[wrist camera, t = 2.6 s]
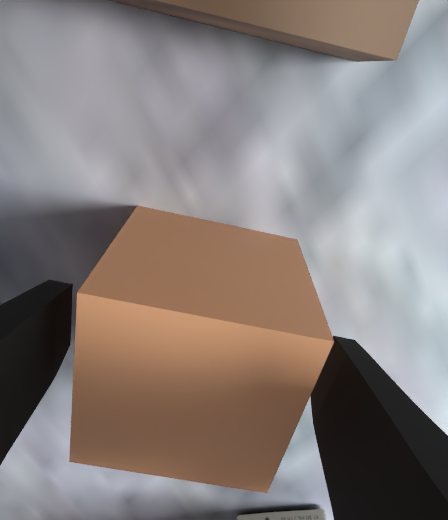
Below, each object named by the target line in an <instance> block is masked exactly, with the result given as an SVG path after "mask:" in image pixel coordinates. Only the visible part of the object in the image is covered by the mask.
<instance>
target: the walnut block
mask: <svg viewBox="0 0 448 520" xmlns="http://www.w3.org/2000/svg"><path fill="white" fill-rule="evenodd" d="M110 1H114V2H118V3H122V4H126V5H130V6H134V7H138V8H142V9H146V10H150V11H154V12H158V13H163V14H167V15H171V16H175V17H179V18H183V19H187V20H191V21H195V22H199V23H203V24H207V25H211V26H215V27H219V28H223V29H227V30H231V31H236V32H240V33H244V34H248V35H252V36H256V37H260V38H264V39H268V40H272V41H276V42H280V43H284V44H288V45H292V46H296V47H300V48H305V49H309V50H313V51H317V52H321V53H325V54H329V55H333V56H337V57H341V58H345V59H349V60H353V61H357V62H360V61H390V60H397V58H398V55H399V53H400V50H401V47H402V45H403V42H404V39H405V36H406V34H407V31H408V28H409V26H410V23H411V20H412V18H413V15H414V12H415V10H416V7H417V4H418V2H419V0H110Z"/></svg>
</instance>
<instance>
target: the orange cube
mask: <svg viewBox="0 0 448 520" xmlns="http://www.w3.org/2000/svg"><path fill="white" fill-rule="evenodd" d="M333 343H334V340H333V337H332V334H331V332H330V329H329V326H328V323H327V321H326V318H325V315H324V312H323V309H322V307H321V304H320V301H319V298H318V296H317V293H316V290H315V287H314V284H313V282H312V279H311V276H310V273H309V271H308V268H307V265H306V262H305V260H304V257H303V254H302V251H301V248H300V246H299V243H298V240H297V239H292V238H288V237H283V236H278V235H273V234H269V233H264V232H259V231H255V230H250V229H245V228H240V227H236V226H231V225H226V224H222V223H217V222H212V221H207V220H203V219H198V218H193V217H189V216H184V215H179V214H174V213H170V212H165V211H160V210H155V209H151V208H146V207H141V206H137V207H136V208H135V210H134V211H133V213H132V214H131V216H130V217H129V218H128V220H127V221H126V223H125V224H124V226H123V227H122V229H121V230H120V231H119V233H118V234H117V236H116V237H115V239H114V240H113V242H112V243H111V244H110V246H109V247H108V249H107V250H106V252H105V253H104V255H103V256H102V257H101V259H100V260H99V262H98V263H97V265H96V266H95V268H94V269H93V270H92V272H91V273H90V275H89V276H88V278H87V279H86V281H85V282H84V283H83V285H82V286H81V288H80V289H79V291H78V292H77V307H76V329H75V351H74V373H73V394H72V416H71V438H70V460H69V462H74V463H80V464H87V465H93V466H99V467H106V468H112V469H118V470H125V471H131V472H137V473H144V474H150V475H156V476H163V477H169V478H175V479H181V480H188V481H194V482H200V483H207V484H213V485H219V486H226V487H232V488H238V489H245V490H251V491H257V492H264V493H267V492H268V490H269V488H270V485H271V483H272V481H273V479H274V476H275V474H276V472H277V470H278V467H279V465H280V463H281V461H282V458H283V456H284V454H285V452H286V449H287V447H288V445H289V443H290V440H291V438H292V436H293V434H294V431H295V429H296V427H297V425H298V422H299V420H300V418H301V416H302V413H303V411H304V409H305V406H306V404H307V402H308V400H309V397H310V395H311V393H312V391H313V388H314V386H315V384H316V382H317V379H318V377H319V375H320V373H321V370H322V368H323V366H324V364H325V361H326V359H327V357H328V355H329V352H330V350H331V348H332V346H333Z"/></svg>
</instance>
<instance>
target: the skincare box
mask: <svg viewBox="0 0 448 520" xmlns="http://www.w3.org/2000/svg"><path fill="white" fill-rule="evenodd" d="M237 520H326V516H325V512H324V510H323V509H313V510H299V511H283V512H269V513H257V514H245V515H239V516H238V517H237Z"/></svg>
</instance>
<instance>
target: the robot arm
mask: <svg viewBox="0 0 448 520" xmlns="http://www.w3.org/2000/svg"><path fill="white" fill-rule="evenodd" d="M72 287H73V284H68V283H63V282H58V281H53V280H48V281H46V282H44V283H42V284H40V285H38V286H36V287H34V288H32V289H30V290H28V291H26V292H25V293H23V294H21V295H19V296H17V297H15V298H13V299H11V300H9V301H8V302H6V303H4V304H2V305H0V465H1V463H2V461H3V460H4V458H5V456H6V455H7V453H8V451H9V450H10V448H11V447H12V445H13V443H14V442H15V440H16V439H17V437H18V436H19V434H20V432H21V431H22V429H23V428H24V426H25V424H26V423H27V421H28V420H29V418H30V417H31V415H32V413H33V412H34V410H35V409H36V407H37V406H38V404H39V402H40V401H41V399H42V398H43V396H44V394H45V393H46V391H47V389H48V388H49V386H50V385H51V383H52V381H53V380H54V378H55V376H56V374H57V372H58V370H59V368H60V366H61V364H62V362H63V359H64V357H65V355H66V353H67V350H68V348H69V346H70V341H71V314H72ZM333 340H334V343H333V346H332V348H331V350H330V352H329V355H328V357H327V359H326V361H325V364H324V366H323V368H322V370H321V373H320V375H319V377H318V379H317V382H316V384H315V386H314V388H313V391H312V393H311V407H312V417H313V425H314V430H315V435H316V439H317V444H318V448H319V453H320V457H321V462H322V466H323V470H324V475H325V479H326V484H327V488H328V493H329V497H330V501H331V506H332V511H333V516H334V520H448V436H447V435H446V434H445V433H444V432H443V431H442V430H441V429H440V428H439V427H438V426H437V425H436V424H435V423H434V422H433V421H432V420H431V419H430V418H429V417H428V416H427V415H426V414H425V413H424V412H423V411H422V410H421V409H420V408H419V407H418V406H417V405H416V404H415V403H414V402H413V401H412V400H411V399H410V398H409V397H408V396H407V395H406V394H405V393H404V392H403V391H402V390H401V388H400V387H399V386H398V385H397V384H396V383H395V382H394V381H393V380H392V379H391V378H390V377H389V376H388V374H387V373H386V372H385V371H384V370H383V369H382V368H381V367H380V366H379V365H378V364H377V363H376V361H375V360H374V359H373V358H372V357H371V356H370V355H369V354H368V353H367V352H366V351H365V350H364V349H363V348H362V347H361V346H360V345H359V344H358V343H357V342H356V341H355V340H352V339H347V338H342V337H337V336H333Z"/></svg>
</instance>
